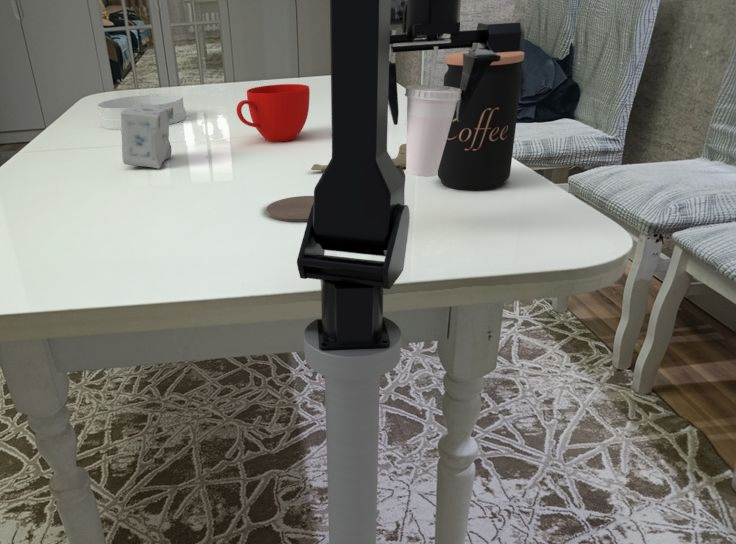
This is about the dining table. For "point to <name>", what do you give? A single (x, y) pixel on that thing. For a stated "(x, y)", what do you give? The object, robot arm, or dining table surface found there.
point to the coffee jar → (483, 126)
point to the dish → (113, 108)
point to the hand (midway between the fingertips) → (427, 122)
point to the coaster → (291, 209)
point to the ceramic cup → (277, 110)
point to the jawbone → (399, 160)
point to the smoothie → (428, 123)
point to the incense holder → (146, 135)
